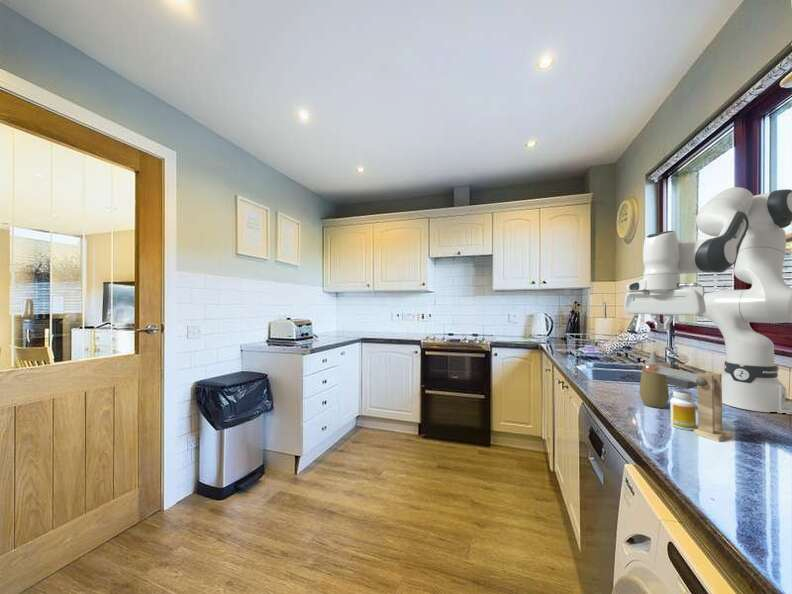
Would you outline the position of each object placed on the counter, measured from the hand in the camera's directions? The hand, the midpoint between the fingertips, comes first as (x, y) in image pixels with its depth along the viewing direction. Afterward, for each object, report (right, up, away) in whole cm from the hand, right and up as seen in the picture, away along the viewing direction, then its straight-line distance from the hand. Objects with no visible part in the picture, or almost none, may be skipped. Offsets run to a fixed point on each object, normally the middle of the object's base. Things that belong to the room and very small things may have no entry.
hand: (662, 329), depth 101 cm
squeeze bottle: (+6, -27, +10) cm, 29 cm away
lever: (0, -15, -7) cm, 16 cm away
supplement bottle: (-1, -27, -9) cm, 28 cm away
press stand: (+1, -26, -14) cm, 30 cm away
